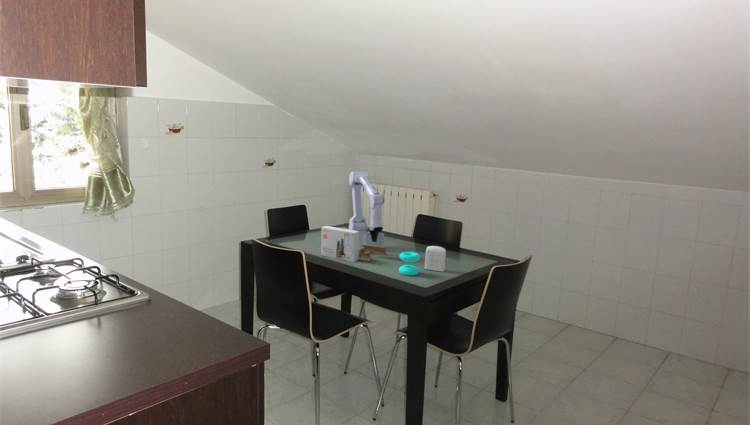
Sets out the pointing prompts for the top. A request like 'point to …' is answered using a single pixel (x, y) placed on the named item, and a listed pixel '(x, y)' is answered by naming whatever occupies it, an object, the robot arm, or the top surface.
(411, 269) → the donuts
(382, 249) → the brown wooden l-shape
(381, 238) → the light blue block
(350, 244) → the skincare box
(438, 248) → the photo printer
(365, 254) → the offcut stack
